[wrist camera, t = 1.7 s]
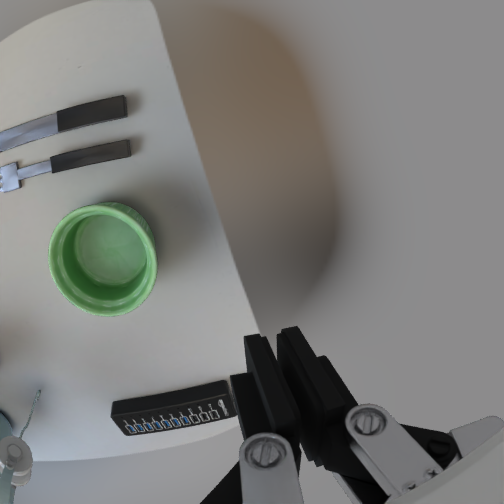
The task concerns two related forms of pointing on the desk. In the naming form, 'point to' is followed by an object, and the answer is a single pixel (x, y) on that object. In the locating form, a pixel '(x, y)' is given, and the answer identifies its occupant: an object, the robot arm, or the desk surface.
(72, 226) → the ramekin
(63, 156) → the fork
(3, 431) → the cup
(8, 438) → the headphones
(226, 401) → the multiport hub
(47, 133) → the knife
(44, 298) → the desk surface
